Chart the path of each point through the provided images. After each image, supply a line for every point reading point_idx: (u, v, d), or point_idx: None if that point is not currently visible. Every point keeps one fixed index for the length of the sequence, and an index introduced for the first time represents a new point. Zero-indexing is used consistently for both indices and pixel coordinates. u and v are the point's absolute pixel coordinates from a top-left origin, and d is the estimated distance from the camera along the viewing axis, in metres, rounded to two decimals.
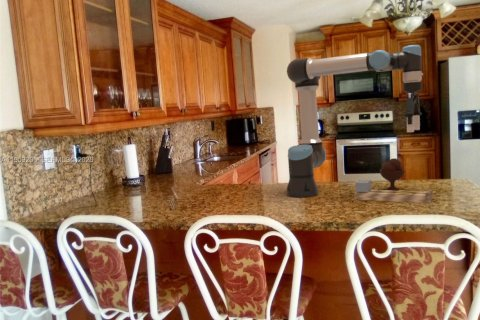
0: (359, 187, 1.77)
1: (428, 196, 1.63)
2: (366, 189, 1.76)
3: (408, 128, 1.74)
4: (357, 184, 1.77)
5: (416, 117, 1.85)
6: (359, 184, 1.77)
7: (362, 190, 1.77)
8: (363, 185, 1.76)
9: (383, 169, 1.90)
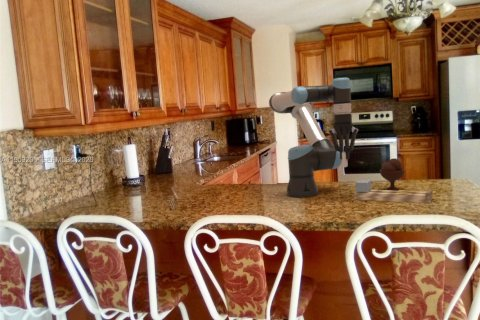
0: (359, 187, 1.77)
1: (428, 196, 1.63)
2: (366, 189, 1.76)
3: None
4: (357, 184, 1.77)
5: None
6: (359, 184, 1.77)
7: (362, 190, 1.77)
8: (363, 185, 1.76)
9: (383, 169, 1.90)
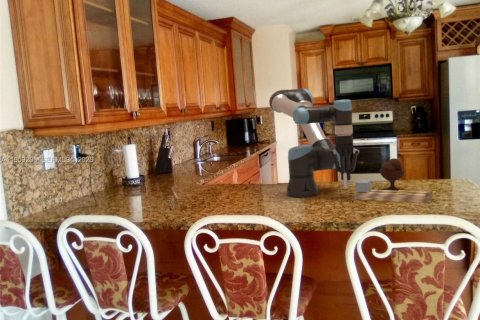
0: (359, 187, 1.77)
1: (428, 196, 1.63)
2: (366, 189, 1.76)
3: None
4: (357, 184, 1.77)
5: None
6: (359, 184, 1.77)
7: (362, 190, 1.77)
8: (363, 185, 1.76)
9: (383, 169, 1.90)
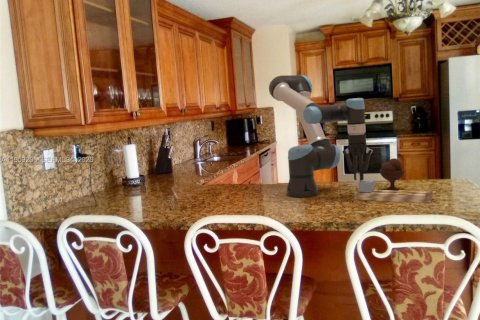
0: (362, 187, 1.76)
1: (428, 196, 1.63)
2: (369, 189, 1.75)
3: None
4: (360, 184, 1.77)
5: None
6: (362, 184, 1.76)
7: (365, 190, 1.76)
8: (366, 185, 1.75)
9: (383, 169, 1.90)
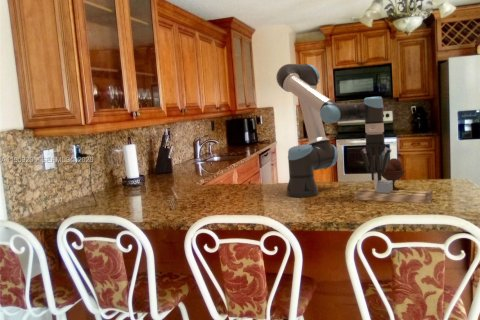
0: (380, 188, 1.72)
1: (428, 196, 1.63)
2: (388, 190, 1.71)
3: None
4: (378, 185, 1.73)
5: None
6: (380, 185, 1.72)
7: (383, 191, 1.72)
8: (385, 185, 1.71)
9: None
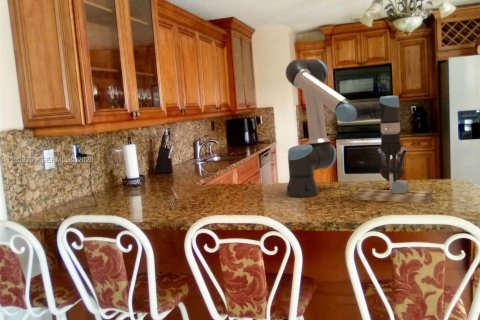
0: (396, 188, 1.69)
1: (428, 196, 1.63)
2: (404, 190, 1.68)
3: None
4: (394, 185, 1.69)
5: None
6: (396, 185, 1.69)
7: (399, 191, 1.69)
8: (401, 186, 1.68)
9: None
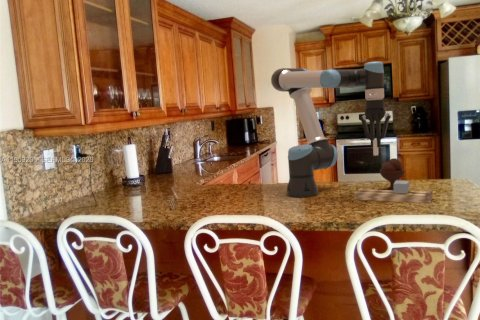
0: (397, 188, 1.69)
1: (428, 196, 1.63)
2: (405, 190, 1.67)
3: None
4: (395, 185, 1.69)
5: None
6: (397, 185, 1.69)
7: (400, 191, 1.68)
8: (402, 186, 1.68)
9: (383, 169, 1.90)
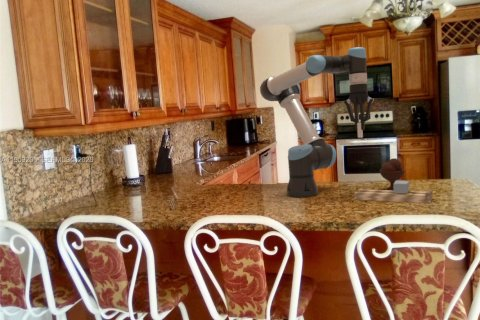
0: (397, 188, 1.69)
1: (428, 196, 1.63)
2: (405, 190, 1.67)
3: None
4: (395, 185, 1.69)
5: None
6: (397, 185, 1.69)
7: (400, 191, 1.68)
8: (402, 186, 1.68)
9: (383, 169, 1.90)
